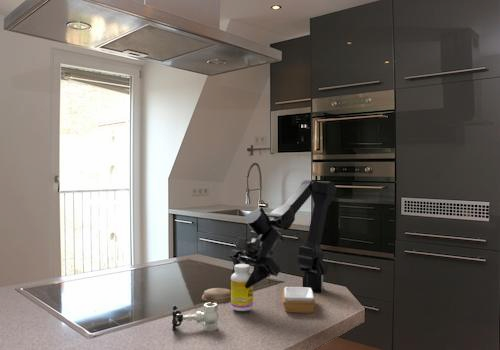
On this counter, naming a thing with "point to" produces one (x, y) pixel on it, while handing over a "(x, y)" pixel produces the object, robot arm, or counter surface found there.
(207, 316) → the valve
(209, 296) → the beige saucer
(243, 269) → the supplement bottle
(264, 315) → the counter surface
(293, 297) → the soap dish
